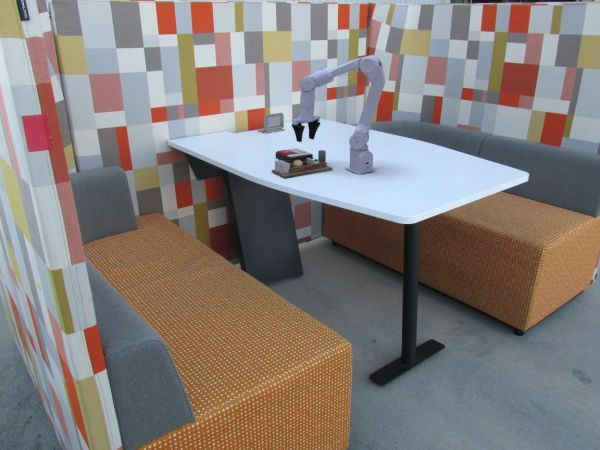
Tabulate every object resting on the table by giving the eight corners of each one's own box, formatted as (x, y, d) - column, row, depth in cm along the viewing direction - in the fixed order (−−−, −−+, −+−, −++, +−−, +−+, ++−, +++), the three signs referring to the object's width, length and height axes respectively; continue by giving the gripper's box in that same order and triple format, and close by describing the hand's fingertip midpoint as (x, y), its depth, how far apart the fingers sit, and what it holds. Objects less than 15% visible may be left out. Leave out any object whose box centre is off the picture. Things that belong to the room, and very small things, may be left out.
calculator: (297, 147, 228) (313, 152, 216) (297, 156, 230) (313, 162, 217) (275, 150, 224) (290, 155, 211) (275, 160, 225) (290, 166, 213)
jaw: (327, 165, 207) (328, 151, 204) (312, 168, 203) (312, 154, 201) (322, 163, 210) (322, 149, 208) (306, 165, 207) (306, 152, 205)
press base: (332, 170, 204) (332, 163, 203) (284, 178, 194) (284, 171, 193) (317, 164, 213) (317, 157, 212) (271, 172, 203) (271, 165, 202)
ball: (304, 170, 202) (304, 160, 200) (296, 171, 200) (295, 161, 198) (299, 167, 205) (299, 158, 204) (291, 169, 203) (290, 159, 202)
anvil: (290, 173, 197) (289, 163, 196) (283, 174, 196) (283, 164, 194) (281, 169, 203) (281, 160, 201) (275, 170, 201) (274, 161, 200)
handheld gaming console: (274, 128, 289) (274, 110, 285) (284, 130, 282) (284, 112, 278) (255, 131, 281) (254, 113, 277) (265, 134, 274) (264, 115, 271)
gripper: (311, 103, 209) (309, 136, 214) (287, 107, 199) (286, 140, 204) (324, 106, 204) (322, 139, 210) (300, 109, 194) (298, 144, 200)
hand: (305, 140), depth 207 cm, fingers open, 7 cm apart
